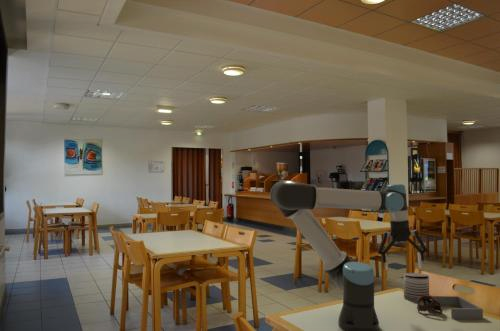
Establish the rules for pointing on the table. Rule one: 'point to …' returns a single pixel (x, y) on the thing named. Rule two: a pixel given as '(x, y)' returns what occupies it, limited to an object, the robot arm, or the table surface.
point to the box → (461, 313)
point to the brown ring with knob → (428, 304)
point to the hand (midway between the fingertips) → (403, 269)
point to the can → (415, 286)
